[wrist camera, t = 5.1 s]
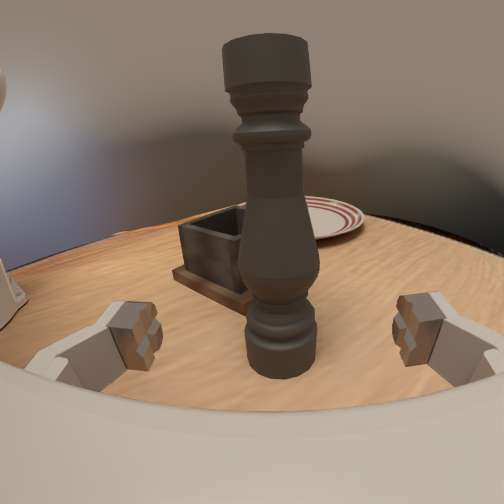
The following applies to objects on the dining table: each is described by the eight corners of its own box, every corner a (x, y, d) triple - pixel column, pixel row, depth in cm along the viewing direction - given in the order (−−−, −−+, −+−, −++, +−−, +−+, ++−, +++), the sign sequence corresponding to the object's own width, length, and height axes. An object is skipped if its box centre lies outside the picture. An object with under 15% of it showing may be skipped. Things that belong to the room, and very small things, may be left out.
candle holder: (261, 329, 29) (240, 61, 19) (321, 338, 27) (318, 52, 17) (236, 370, 24) (199, 44, 14) (306, 385, 22) (300, 26, 12)
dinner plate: (368, 213, 64) (369, 199, 63) (354, 262, 42) (356, 241, 41) (261, 205, 76) (260, 192, 75) (200, 243, 54) (198, 226, 52)
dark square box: (173, 279, 41) (163, 226, 38) (238, 248, 49) (233, 202, 46) (244, 315, 32) (237, 248, 29) (309, 270, 40) (309, 214, 37)
